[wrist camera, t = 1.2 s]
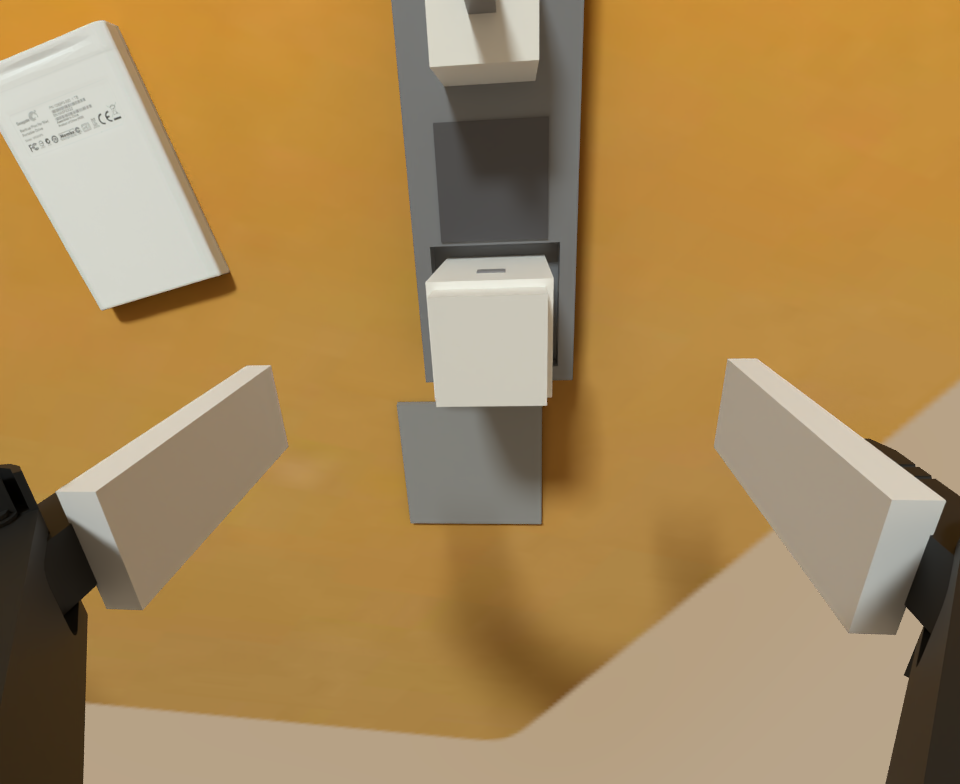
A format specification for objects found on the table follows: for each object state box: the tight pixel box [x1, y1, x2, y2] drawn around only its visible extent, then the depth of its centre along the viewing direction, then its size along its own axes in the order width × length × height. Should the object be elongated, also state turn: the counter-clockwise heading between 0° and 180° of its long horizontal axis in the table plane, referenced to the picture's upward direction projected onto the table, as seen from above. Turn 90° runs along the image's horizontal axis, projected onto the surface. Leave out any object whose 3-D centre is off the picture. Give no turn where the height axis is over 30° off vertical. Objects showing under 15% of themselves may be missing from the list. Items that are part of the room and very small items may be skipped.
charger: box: [425, 254, 554, 407], centre depth 23 cm, size 5×5×8 cm
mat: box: [397, 402, 542, 524], centre depth 33 cm, size 9×9×1 cm
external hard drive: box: [0, 20, 230, 310], centre depth 27 cm, size 2×8×12 cm
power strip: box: [391, 0, 584, 382], centre depth 20 cm, size 30×8×10 cm, turn 2°
